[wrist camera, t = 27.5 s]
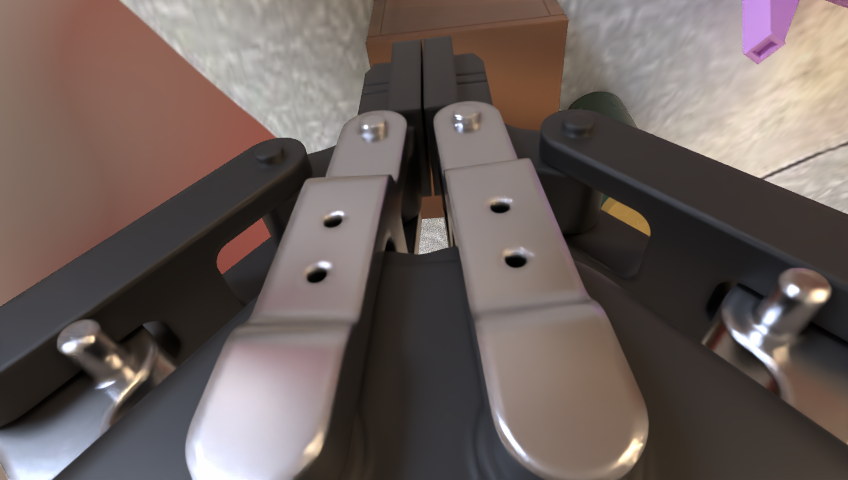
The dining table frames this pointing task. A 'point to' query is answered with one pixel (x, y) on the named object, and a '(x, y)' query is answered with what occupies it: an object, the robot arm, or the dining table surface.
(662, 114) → the dining table surface
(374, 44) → the chest lid
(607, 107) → the tea tin
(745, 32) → the teakettle
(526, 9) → the chest
